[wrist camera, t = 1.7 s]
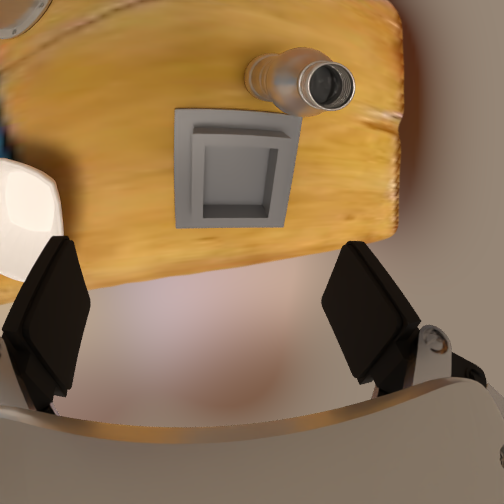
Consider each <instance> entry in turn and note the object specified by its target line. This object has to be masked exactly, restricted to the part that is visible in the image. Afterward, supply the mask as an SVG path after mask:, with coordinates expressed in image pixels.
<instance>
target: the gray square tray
mask: <svg viewBox="0 0 504 504" xmlns="http://www.w3.org/2000/svg"><path fill="white" fill-rule="evenodd" d="M302 118H303V117H295V116H292V115H289V114H283V113H274V112H264V111H252V110H236V109H209V108H181V109H175V125H174V189H175V218H176V228H241V227H284V221H285V216H286V211H287V205H288V200H289V194H290V189H291V183H292V177H293V172H294V166H295V160H296V154H297V148H298V142H299V136H300V130H301V124H302Z"/></svg>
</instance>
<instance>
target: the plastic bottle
mask: <svg viewBox="0 0 504 504" xmlns="http://www.w3.org/2000/svg"><path fill="white" fill-rule="evenodd" d="M244 80H245V85H246V88H247V89H248V91H249V92H250V93H251V94H252V95H253V96H254V97H255V98H257V99H259V100H262V101H269V102H273V103H274V104H275V106H277V107H278V108H279V109H280V110H282V111H283V112H285V113H287V114H289V115H292V116H295V117H310V116H314V115H318V114H320V113H322V112H324V111H326V110H327V111H336V110H339V109H342V108H344V107H345V106H346V105H348V104H349V102H350V101H351V100H352V98H353V96H354V93H355V80H354V78H353V75H352V74H351V72H350V71H349V70H348V69H347V68H346V67H345V66H343V65H342V64H339V63H337V62H333V61H332V60H331V59H330V58H329V57H328V56H326V55H325V54H323V53H321V52H320V51H318V50H315V49H312V48H306V47H301V48H294V49H290V50H288V51H286V52H283V53H281V54H275V53H267V54H263V55H260V56H258V57H256V58H255V59H253V60H252V61H251V62H250V63H249V65H248V67H247V68H246V71H245V76H244Z"/></svg>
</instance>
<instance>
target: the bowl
mask: <svg viewBox="0 0 504 504" xmlns="http://www.w3.org/2000/svg"><path fill="white" fill-rule="evenodd" d="M52 236H64V229H63V218H62V209H61V201H60V196H59V192H58V189H57V185H56V182H55V180H54V179H53V178H51V177H50V176H48V175H47V174H46V173H44V172H43V171H41V170H38V169H36V168H34V167H32V166H30V165H27V164H24V163H20V162H17V161H13V160H10V159H7V158H0V274H2V275H4V276H7V277H9V278H12V279H14V280H18V281H22V282H25V280H26V278H27V276H28V274H29V272H30V271H31V269H32V267H33V265H34V264H35V262H36V260H37V259H38V257H39V255H40V254H41V252H42V250H43V249H44V247H45V246H46V244H47V242H48V241H49V239H50V238H51V237H52Z"/></svg>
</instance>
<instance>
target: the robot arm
mask: <svg viewBox="0 0 504 504" xmlns="http://www.w3.org/2000/svg"><path fill="white" fill-rule="evenodd" d="M51 1H52V0H0V39H11V38H14V37H17V36H19V35H21V34H23V33H24V32H26V31H27V30H28V29H30V28H31V27H32V26H33V25H34V24H35V23H36V22H37V21H38V20H39V19H40V17H41V16H42V15H43V14H44V12H45V11H46V9H47V8H48V6H49V4H50V3H51ZM321 301H322V302H321V303H322V307H323V309H324V312H325V314H326V316H327V318H328V320H329V322H330V325H331V326H332V329H333V331H334V334H335V336H336V338H337V340H338V343H339V345H340V347H341V349H342V352H343V354H344V356H345V359H346V361H347V363H348V366H349V368H350V370H351V373H352V375H353V376H354V377H355V378H357V380H358V382H359V384H360V385H361V384H365V383H369V382H372V381H373V380H374V382H375V388H374V391H373V394H372V397H371V400H367V401H364V402H360V403H357V404H353V405H349V406H346V407H342V408H338V409H333V410H329V411H325V412H320V413H315V414H311V415H305V416H300V417H294V418H289V419H282V420H276V421H269V422H262V423H253V424H243V425H233V426H232V425H231V426H216V427H188V428H187V427H186V428H185V427H184V428H182V427H181V428H179V427H172V428H171V427H144V426H130V425H119V424H109V423H102V422H94V421H87V420H81V419H74V418H68V417H63V416H60V415H59V413H58V412H57V410H56V408H55V406H54V404H53V396H54V395H57V396H62V397H66V395H67V389H71V387H72V382H73V377H74V372H75V366H76V362H77V357H78V353H79V348H80V344H81V340H82V336H83V332H84V328H85V325H86V320H87V317H88V314H89V310H90V297H89V294H88V291H87V288H86V285H85V282H84V278H83V275H82V272H81V268H80V265H79V261H78V257H77V253H76V249H75V245H74V242H73V241H72V240H69V238H68V236H52V237H51V238H50V239H49V241H48V242H47V244H46V246H45V247H44V249H43V250H42V252H41V254H40V255H39V257H38V259H37V260H36V262H35V264H34V265H33V267H32V269H31V271H30V272H29V274H28V276H27V278H26V280H25V282H24V283H23V285H22V287H21V289H20V291H19V293H18V295H17V297H16V299H15V301H14V303H13V305H12V307H11V309H10V312H9V314H8V316H7V318H6V321H5V323H4V325H3V327H2V331H3V335H2V337H0V504H504V398H503V397H502V396H501V395H500V394H499V393H498V392H497V391H496V390H495V389H494V388H493V387H492V386H491V385H490V384H489V383H488V384H486V378H485V374H484V372H483V370H482V369H481V368H479V367H478V366H477V365H475V364H473V363H471V362H470V361H467V360H466V359H464V358H462V357H460V356H458V355H456V354H455V353H453V352H452V351H451V350H452V348H451V343H450V340H449V338H448V337H447V335H446V334H445V333H444V332H443V331H442V330H441V329H439V328H438V327H436V326H433V325H425V326H423V327H422V328H421V329H420V330H419V329H418V327H417V326H418V325H419V324H420V322H421V320H420V319H419V317H418V315H417V314H416V312H415V311H414V309H413V308H412V306H411V305H410V303H409V302H408V300H407V299H406V297H405V296H404V295H403V293H402V292H401V290H400V289H399V287H398V286H397V285H396V283H395V282H394V281H393V279H392V278H391V276H390V275H389V274H388V272H387V271H386V270H385V268H384V267H383V266H382V264H381V263H380V262H379V260H378V259H377V258H376V256H375V255H374V254H373V253H372V252H371V250H370V249H369V248H368V246H367V245H366V244H365V243H364V242H362V241H348V242H347V243H346V245H343V246H342V248H341V251H340V254H339V256H338V259H337V262H336V264H335V267H334V269H333V272H332V274H331V277H330V279H329V282H328V284H327V287H326V289H325V291H324V294H323V296H322V300H321Z"/></svg>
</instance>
